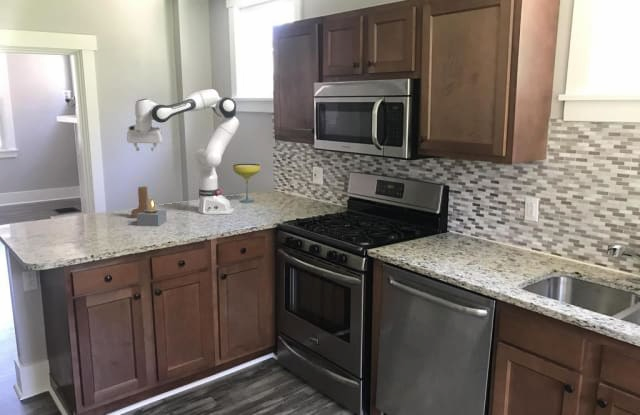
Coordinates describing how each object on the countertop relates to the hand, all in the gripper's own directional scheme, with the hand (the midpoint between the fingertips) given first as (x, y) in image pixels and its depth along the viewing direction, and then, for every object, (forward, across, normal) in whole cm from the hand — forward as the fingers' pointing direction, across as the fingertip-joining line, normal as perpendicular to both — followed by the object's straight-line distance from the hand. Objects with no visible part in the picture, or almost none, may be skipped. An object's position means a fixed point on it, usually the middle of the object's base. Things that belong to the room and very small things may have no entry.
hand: (145, 150), depth 307 cm
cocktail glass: (+39, -50, -48) cm, 79 cm away
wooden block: (+38, +2, +8) cm, 39 cm away
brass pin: (+37, -11, +22) cm, 44 cm away
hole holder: (+38, -11, +22) cm, 46 cm away
